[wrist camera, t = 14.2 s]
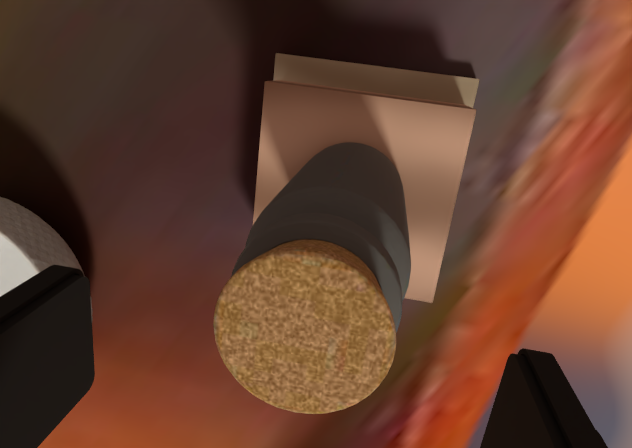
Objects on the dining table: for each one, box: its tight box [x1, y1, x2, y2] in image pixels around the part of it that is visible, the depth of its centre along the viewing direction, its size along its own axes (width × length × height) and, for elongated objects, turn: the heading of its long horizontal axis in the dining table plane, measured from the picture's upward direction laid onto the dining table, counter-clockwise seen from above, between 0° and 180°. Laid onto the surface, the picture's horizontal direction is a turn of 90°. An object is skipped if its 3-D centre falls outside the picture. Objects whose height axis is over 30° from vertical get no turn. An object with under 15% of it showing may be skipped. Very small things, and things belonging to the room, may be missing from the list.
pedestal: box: [253, 53, 479, 303], centre depth 28 cm, size 14×12×5 cm
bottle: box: [214, 142, 411, 414], centre depth 19 cm, size 6×6×15 cm
